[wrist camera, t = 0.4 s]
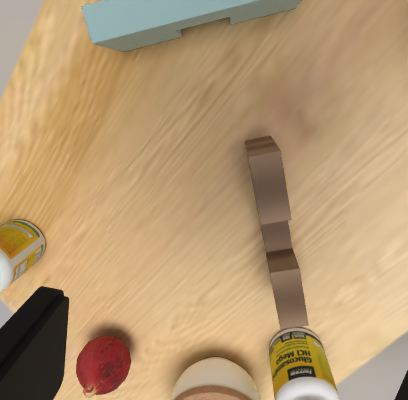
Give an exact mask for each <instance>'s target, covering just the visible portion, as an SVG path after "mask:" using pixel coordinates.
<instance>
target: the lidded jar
mask: <svg viewBox="0 0 408 400" xmlns="http://www.w3.org/2000/svg"><path fill="white" fill-rule="evenodd" d="M170 400H261V398H260V395H259V392H258V390H257V387H256V385H255V383H254V381H253V380H252V378H251V377H250V375H249V374H248V373H247V372H246V371H245V370H244V369H243V368H242V367H240V366H239V365H237V364H236V363H234V362H232V361H230V360H228V359H226V358H222V357H210V358H206V359H204V360H201V361H198V362H196V363H194V364H193V365H191V366H190V367H189V368H187V369H186V370H185V371H184V372H183V374H182V375H181V376H180V377H179V379H178V381H177V382H176V384H175V386H174V389H173V391H172V394H171V397H170Z"/></svg>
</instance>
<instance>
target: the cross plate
mask: <svg viewBox="0 0 408 400" xmlns="http://www.w3.org/2000/svg"><path fill="white" fill-rule="evenodd" d="M301 1H302V0H103V1H99V2H96V3H92V4H89V5H85V6H81V7H82V10H83V14H84V17H85V21H86V24H87V28H88V31H89V35H90V38H91V42H92V44H96V45H99V46H103V47H107V48H111V49H114V50H118V51H122V52H125V51H129V50H133V49H137V48H141V47H145V46H149V45H152V44H156V43H160V42H164V41H168V40H172V39H176V38H180V37H182V33H181V29H184V28H188V27H192V26H196V25H200V24H204V23H208V22H212V21H215V20H219V19H223V18H227V17H229V18H230V23H231V25H232V24H235V23H239V22H243V21H247V20H251V19H255V18H259V17H263V16H267V15H271V14H275V13H279V12H283V11H287V10H291V9H295V8H296V7H297V6H298V4H299V3H300V2H301Z"/></svg>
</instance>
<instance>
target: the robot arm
mask: <svg viewBox="0 0 408 400" xmlns="http://www.w3.org/2000/svg"><path fill="white" fill-rule="evenodd" d="M68 310H69V298H68V297H66V296H64V293H63V291H62V290H59V289H54V288H49V287H44V286H41V287H40V288H38V289H37V290H36V291H35V292H34V293H33V295H32V296H31V297H30V298H29V299H28V300H27V301H26V302H25V303H24V304H23V305H22V306H21V307H20V308H19V309H18V310H17V312H16V313H15V314H14V315H13V316H12V317H11V318H10V319H9V320H8V321H7V322H6V323H5V325H4V326H2V327H1V329H0V400H53V399H54V397H55V396H56V394H57V392H58V390H59V388H60V386H61V384H62V381H63V377H64V367H65V353H66V339H67V325H68ZM395 400H408V371H407V373H406V375H405V377H404V380H403V382H402V384H401V386H400V389H399V391H398V393H397V396H396V398H395Z"/></svg>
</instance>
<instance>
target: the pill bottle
mask: <svg viewBox="0 0 408 400" xmlns="http://www.w3.org/2000/svg"><path fill="white" fill-rule="evenodd" d="M269 354H270V364H271V372H272V381H273V389H274V397H275V400H340V399H339V395H338V392H337V389H336V386H335V383H334V379H333V376H332V373H331V370H330V367H329V364H328V361H327V358H326V355H325V352H324V349H323V346H322V343H321V341H320V340H319V338H318V337H317V336H316V335H315V334H314V333H312V332H310V331H309V330H306V329H302V328H290V329H286V330H284V331H282V332H280V333H278V334H277V335H276V336H275V337H274V338H273V340H272V341H271V344H270V348H269Z"/></svg>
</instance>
